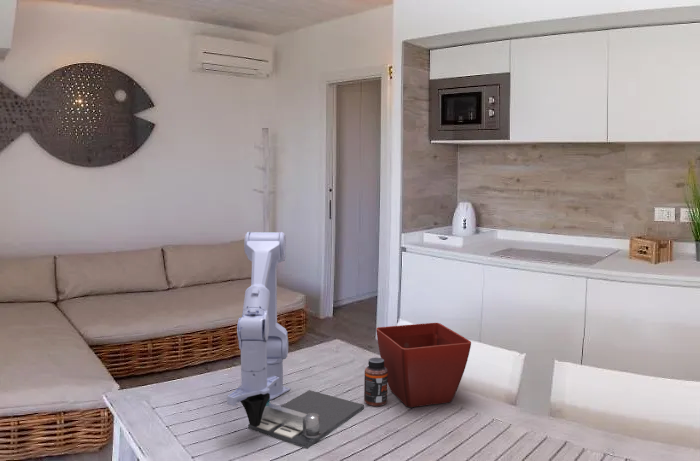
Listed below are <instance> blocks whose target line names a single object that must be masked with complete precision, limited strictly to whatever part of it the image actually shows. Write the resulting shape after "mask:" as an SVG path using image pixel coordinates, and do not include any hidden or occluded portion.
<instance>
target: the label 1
mask: <svg viewBox="0 0 700 461" xmlns="http://www.w3.org/2000/svg"><path fill="white" fill-rule="evenodd" d="M278 425H279V423H276V422H273V421H270V420H267V419H264V418H262V419H261V423H260V425H259V426H257V427H258V428H261V429H264V430H267V431H269V430H271V429H273V428H274V427H276V426H278Z"/></svg>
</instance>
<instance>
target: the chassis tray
mask: <svg viewBox="0 0 700 461" xmlns="http://www.w3.org/2000/svg"><path fill="white" fill-rule="evenodd" d="M280 406H281V407H284V408H288V409H291V410H294V411H298V412H301V413H304V414H309V413H316V414H319V431H320V432H321V436H320V437H319V438H317V439H308V438H305V437H304V432H305V431H306V429H305V430H304V431H302V432H300V433H299V434H297V435H296V436H294V437H293V438H289V437H286V436H283V435H280V434H277V433H274V431H275V430H277V429H279V428H280V427H282V426H283V425H282V424H279V425H278V426H276V427H274V428H273V429H271V430H269V431H267V430H264V429H261V428H258V427H254V426H252V425H250V424H248V425H247V428H248V429H249V430H251V431H253V432H257V433H260V434H263V435H266V436H269V437H272V438H274V439H277V440H280V441H284V442H286V443H289V444H293V445H295V446H299V447H302V448H304V449H310V447H312V446H313V445H315V444H316V443H317V442H319V441H320V440H322V439H323V438H324V437H326V436H327V435H328V434H330V433H331V432H333V431H334V430H337V428H338V427H341V425H343V424H344V423H346V422H347V421H349V420H350V419H351V418H353V417H354V416H356V415H357V414H358V413H360V412H361V411H362V410H364V409H365V404H363V403H359V402H355V401H352V400H348V399H343V398H341V397H337V396H333V395H328V394H326V393H322V392H318V391H315V390H311V389H309V390H307V391H305V392H303V393H301V394H300V395H298V396H296V397H294V398H293V399H290V401H287V402H286V403H283V404H281V405H280Z"/></svg>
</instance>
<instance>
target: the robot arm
mask: <svg viewBox="0 0 700 461" xmlns="http://www.w3.org/2000/svg"><path fill="white" fill-rule="evenodd" d="M243 241H244V242H243V244H244V246H243V247H244V248H243V249H244V253H245V255H246V257H247V260H248V261H250V262H251V279H250V280H251V281H250V284H251V285H250V286H249V287H247V288H246V289H245V292H244V297H243V298H244V300H243V306H242V313H241V317H239V318H238V321H237V324H236V325H237V326H236V327H237V328H236V333H237V334H236V335H237V339H238V348H239V350H240V378H241V381H240V384H241V385H240V386H239V387H237V388H236V389H235V390H234V391H233V392H231V393H230V394H228V395H226V404H227V405H229V406H232V407H235V406H236V405H237V404H238V403H241V405H242V407H243V409H244V411H245V413H246V415H247V419H248V423H249V424H250V425H252V426H254V427H257V426H259V425H260V423H261V419H262V415H263V411H264V408H265V406H266V404H267V402H268V400H269V399H270V401H272V400H274V399H275V398H278V397H280V396H281V395H283V394H285V393H287V392H288V391H290V390H291V389H290V387H287V386H285V385H284V370H283V368H284V367H283V366H284V365H283V364H284V360H286V359H287V358H288V354H289V338H288V331H287V329H286V328H285V327H284V326H282V325H281V324H280V323H278V288H277V287H278V280H277V279H278V273H277V272H278V267H279V263H282V262H284V261H285V260H286V256H287V255H286V254H287V253H286V249H287V248H286V246H287V245H286V244H287V239H286V234H285V233H284V231H279V232H277V231H275V232H270V231H269V232H267V231H266V232H264V231H261V232H260V231H258V232H255V231H247V232H246V233H245V234H244V240H243Z"/></svg>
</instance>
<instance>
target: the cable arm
mask: <svg viewBox="0 0 700 461" xmlns="http://www.w3.org/2000/svg"><path fill="white" fill-rule="evenodd" d="M270 401H271V400H270V399H269V400H268V402H267V404H266V406H265V408H264V411H263V415H262V418H264V419H267V420H270V421H273V422H276V423H279V424H282V425H286V426H289V427H292V428H295V429H298V430H301V431H304V430H305V429H306V415H307V414H304V413H301V412H298V411H294V410H291V409H288V408H284V407H281V406H282V405H277V404H273V403H270Z"/></svg>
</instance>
